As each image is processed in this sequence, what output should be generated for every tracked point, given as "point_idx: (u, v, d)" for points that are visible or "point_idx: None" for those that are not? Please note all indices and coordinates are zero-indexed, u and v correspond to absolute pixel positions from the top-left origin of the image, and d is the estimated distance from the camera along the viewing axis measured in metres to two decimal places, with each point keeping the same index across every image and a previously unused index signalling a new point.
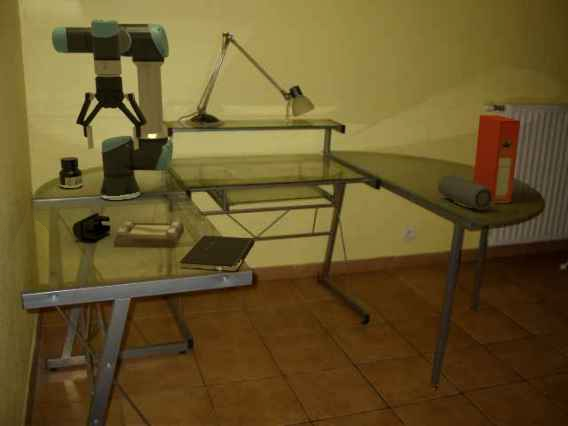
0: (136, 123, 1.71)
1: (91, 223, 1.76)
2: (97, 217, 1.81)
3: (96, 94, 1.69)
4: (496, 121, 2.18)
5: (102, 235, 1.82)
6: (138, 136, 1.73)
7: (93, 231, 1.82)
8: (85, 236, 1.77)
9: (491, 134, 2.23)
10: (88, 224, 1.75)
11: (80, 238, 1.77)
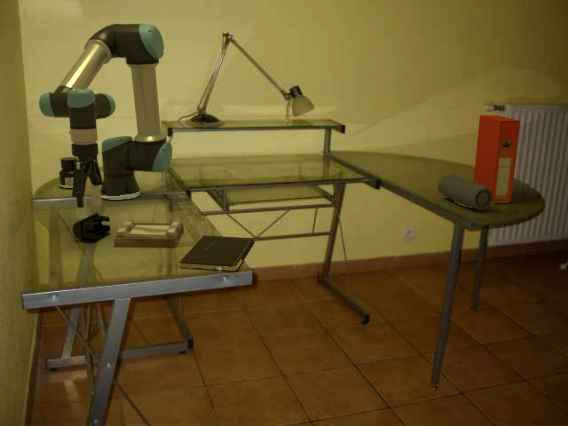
0: None
1: (91, 223, 1.76)
2: (97, 217, 1.81)
3: None
4: (496, 121, 2.18)
5: (102, 235, 1.82)
6: None
7: (93, 231, 1.82)
8: (85, 236, 1.77)
9: (491, 134, 2.23)
10: (88, 224, 1.75)
11: (80, 238, 1.77)
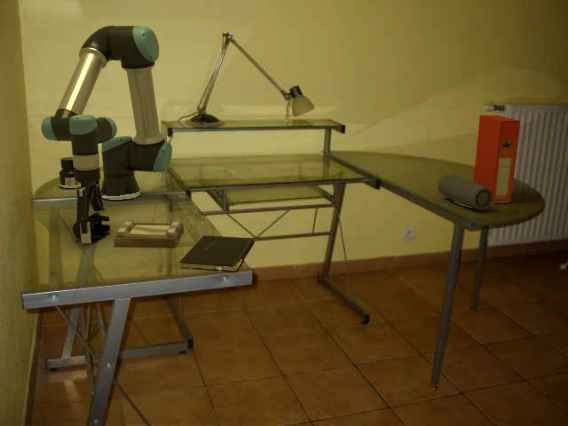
0: None
1: (91, 223, 1.75)
2: (97, 217, 1.81)
3: None
4: (496, 121, 2.18)
5: (102, 235, 1.82)
6: None
7: (93, 231, 1.82)
8: None
9: (491, 134, 2.23)
10: None
11: (80, 238, 1.77)
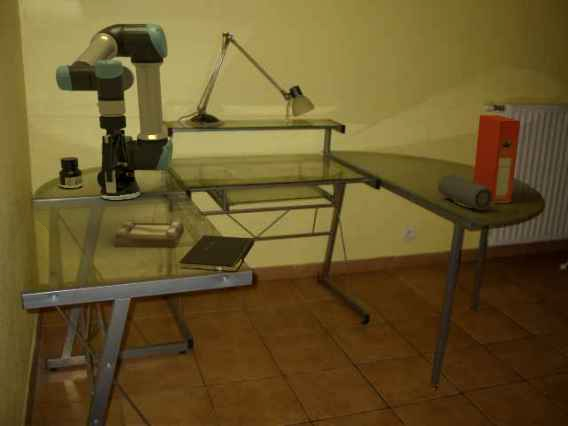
0: None
1: (116, 172, 1.71)
2: (122, 167, 1.76)
3: None
4: (496, 121, 2.18)
5: (127, 186, 1.77)
6: None
7: (118, 182, 1.77)
8: None
9: (491, 134, 2.23)
10: None
11: (105, 187, 1.72)
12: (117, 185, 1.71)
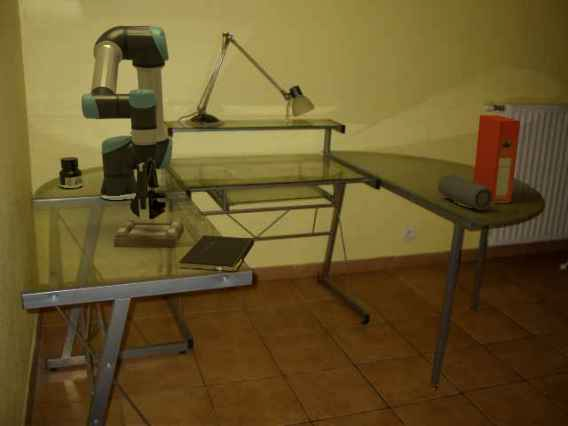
0: None
1: (149, 199, 1.73)
2: (153, 193, 1.79)
3: None
4: (496, 121, 2.18)
5: (158, 212, 1.80)
6: None
7: (149, 208, 1.80)
8: None
9: (491, 134, 2.23)
10: None
11: (138, 214, 1.74)
12: (150, 212, 1.74)
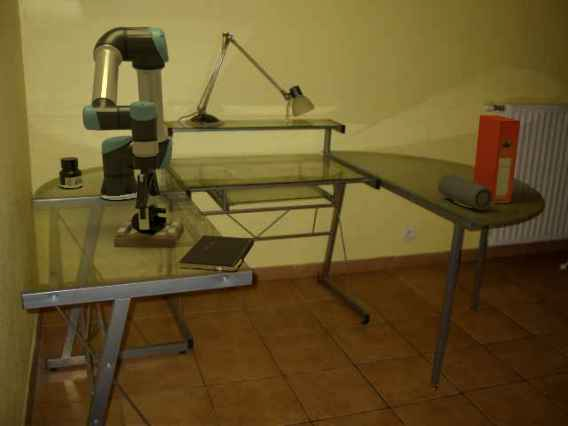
0: None
1: (151, 214, 1.75)
2: (154, 209, 1.80)
3: None
4: (496, 121, 2.18)
5: (159, 227, 1.81)
6: None
7: (150, 223, 1.81)
8: None
9: (491, 134, 2.23)
10: None
11: (139, 230, 1.76)
12: (151, 227, 1.75)
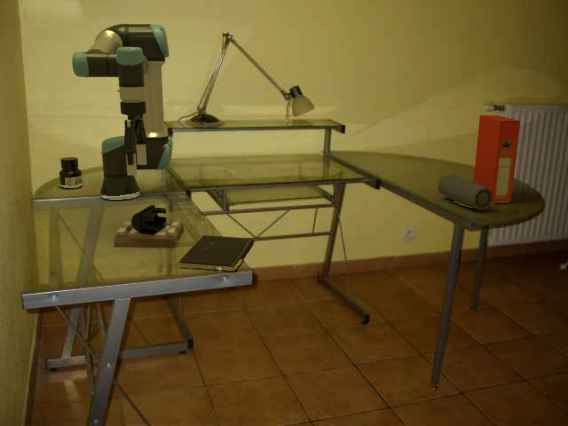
0: None
1: (151, 214, 1.75)
2: (154, 209, 1.80)
3: None
4: (496, 121, 2.18)
5: (159, 227, 1.81)
6: None
7: (150, 223, 1.81)
8: (144, 228, 1.76)
9: (491, 134, 2.23)
10: (148, 216, 1.74)
11: (139, 230, 1.76)
12: (151, 227, 1.75)
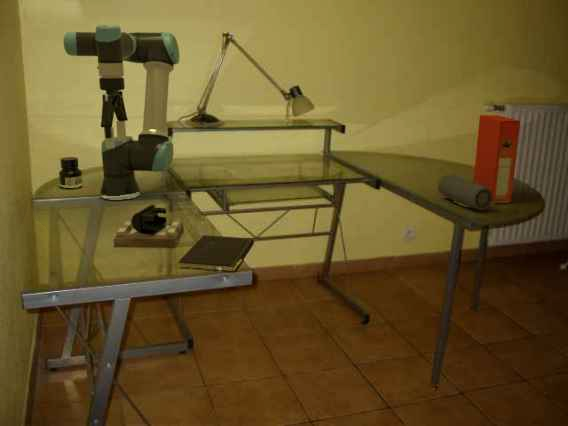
0: None
1: (151, 215, 1.75)
2: (154, 209, 1.80)
3: None
4: (496, 121, 2.18)
5: (159, 227, 1.81)
6: None
7: (150, 223, 1.81)
8: (144, 228, 1.76)
9: (491, 134, 2.23)
10: (148, 216, 1.74)
11: (139, 230, 1.76)
12: (151, 227, 1.75)
